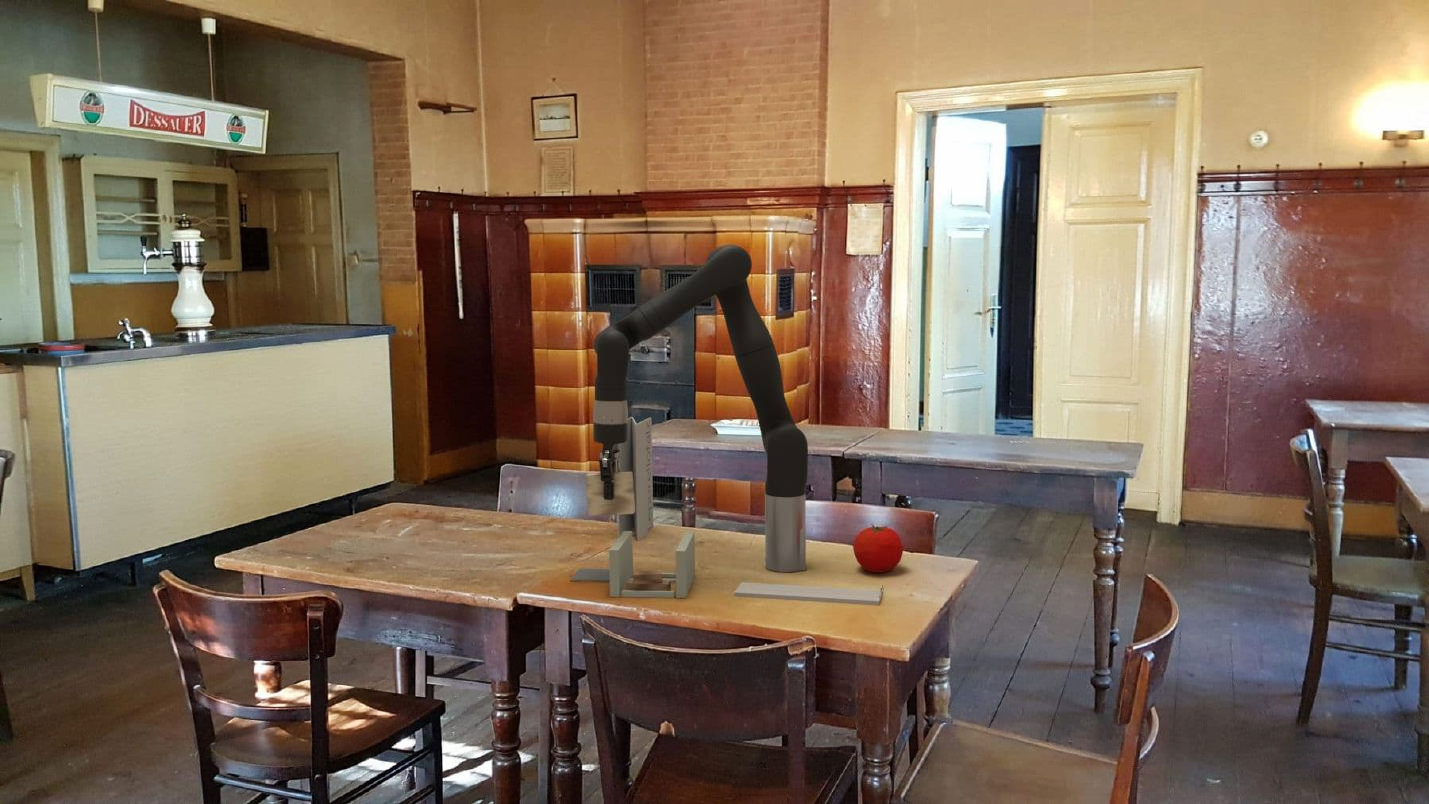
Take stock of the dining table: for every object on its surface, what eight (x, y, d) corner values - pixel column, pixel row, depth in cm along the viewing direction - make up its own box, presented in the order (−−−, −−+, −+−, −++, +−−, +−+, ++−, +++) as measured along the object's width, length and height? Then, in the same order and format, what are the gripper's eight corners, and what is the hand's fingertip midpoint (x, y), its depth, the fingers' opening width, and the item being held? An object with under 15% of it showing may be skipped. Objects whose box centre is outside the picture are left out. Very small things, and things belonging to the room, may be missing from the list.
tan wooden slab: (635, 511, 230) (632, 471, 230) (633, 513, 228) (630, 473, 227) (590, 513, 231) (588, 473, 231) (588, 515, 229) (585, 475, 228)
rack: (694, 575, 232) (694, 532, 231) (685, 598, 216) (685, 551, 215) (624, 574, 234) (623, 531, 233) (610, 596, 217) (609, 549, 216)
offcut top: (661, 579, 220) (661, 570, 220) (662, 583, 218) (662, 573, 217) (633, 580, 220) (633, 571, 219) (633, 584, 217) (633, 574, 217)
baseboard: (744, 585, 227) (734, 599, 217) (744, 572, 226) (734, 585, 217) (883, 593, 219) (879, 608, 210) (883, 580, 219) (879, 594, 209)
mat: (622, 571, 237) (622, 569, 237) (614, 582, 228) (614, 580, 228) (579, 570, 238) (579, 568, 238) (570, 581, 229) (570, 579, 229)
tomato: (910, 566, 238) (911, 522, 237) (891, 580, 227) (892, 534, 226) (864, 560, 244) (865, 517, 243) (844, 573, 233) (844, 529, 232)
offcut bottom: (670, 593, 220) (670, 579, 220) (668, 597, 217) (668, 583, 217) (629, 592, 221) (628, 579, 221) (626, 596, 218) (626, 583, 218)
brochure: (638, 540, 265) (636, 424, 261) (618, 539, 266) (615, 424, 262) (653, 528, 279) (651, 417, 275) (633, 527, 280) (631, 416, 276)
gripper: (621, 425, 220) (621, 505, 222) (632, 417, 234) (631, 492, 236) (587, 424, 221) (586, 503, 223) (599, 416, 235) (599, 491, 237)
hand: (610, 497), depth 229 cm, fingers closed on tan wooden slab, 2 cm apart
